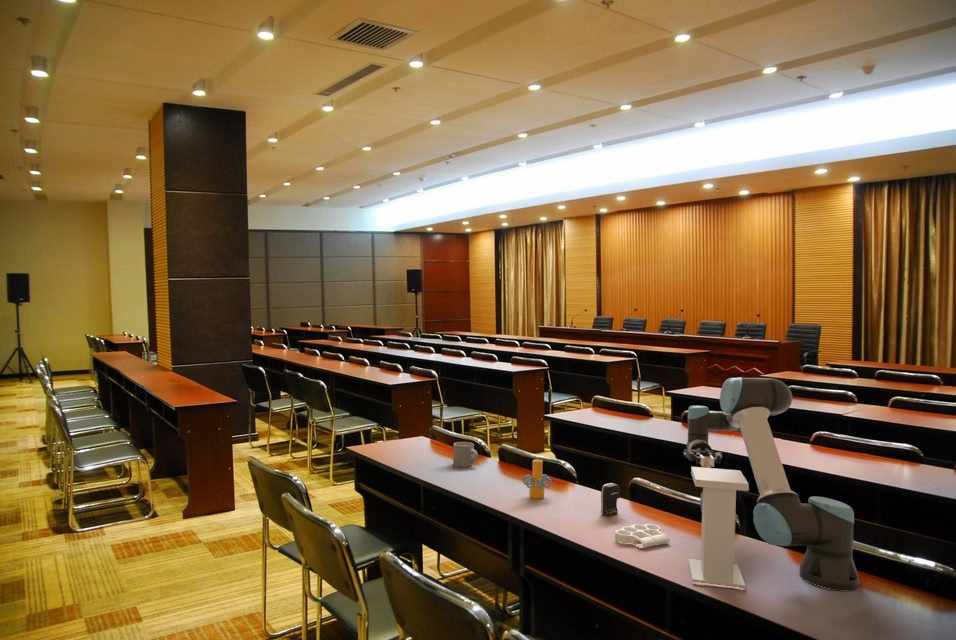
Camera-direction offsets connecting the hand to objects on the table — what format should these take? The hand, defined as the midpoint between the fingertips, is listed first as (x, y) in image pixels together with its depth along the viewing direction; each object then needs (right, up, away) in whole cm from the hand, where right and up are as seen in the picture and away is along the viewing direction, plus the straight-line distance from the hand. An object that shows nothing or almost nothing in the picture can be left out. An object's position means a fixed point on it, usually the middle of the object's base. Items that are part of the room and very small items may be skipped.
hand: (708, 462), depth 214 cm
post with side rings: (-53, -25, +47) cm, 75 cm away
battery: (-27, -26, +27) cm, 46 cm away
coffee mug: (-83, -23, +95) cm, 129 cm away
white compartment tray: (-22, -27, +2) cm, 35 cm away
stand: (-8, -27, -27) cm, 39 cm away
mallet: (0, -8, -1) cm, 8 cm away
